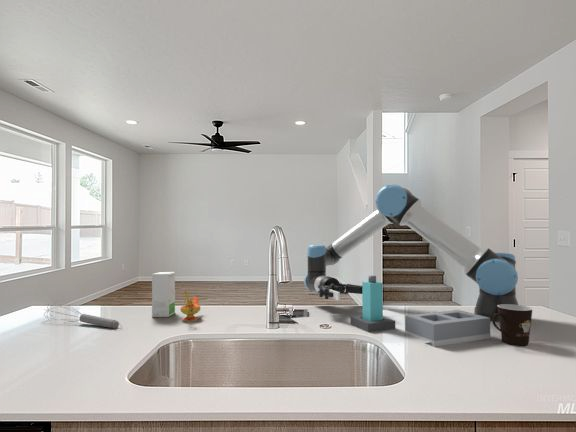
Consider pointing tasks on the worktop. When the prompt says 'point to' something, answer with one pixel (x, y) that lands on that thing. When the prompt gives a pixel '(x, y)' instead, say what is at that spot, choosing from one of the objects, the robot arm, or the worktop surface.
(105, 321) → the kitchen whisk
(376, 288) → the plug
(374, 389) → the worktop surface
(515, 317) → the coffee mug
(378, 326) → the frame
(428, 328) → the block
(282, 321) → the handgun
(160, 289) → the skincare box
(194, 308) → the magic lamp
